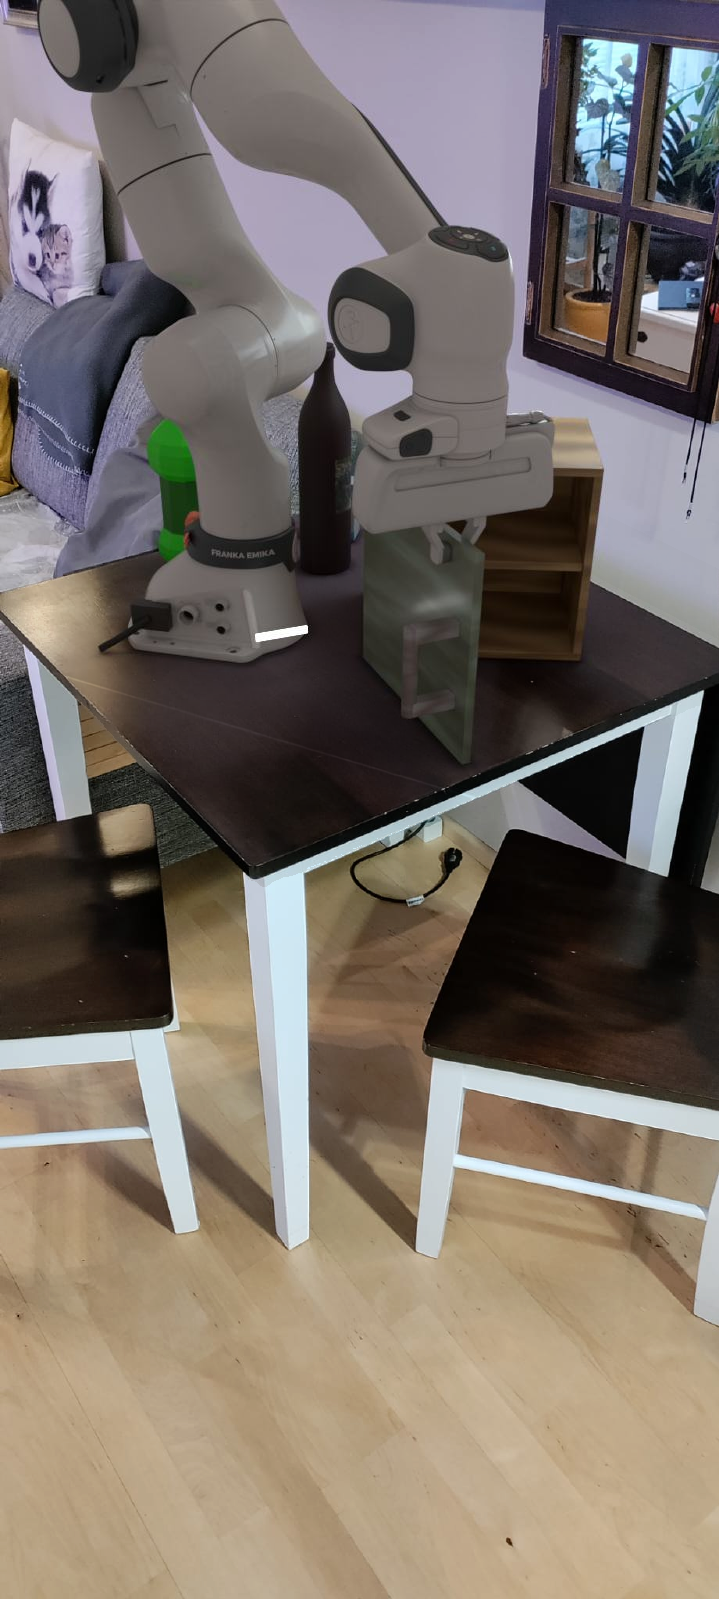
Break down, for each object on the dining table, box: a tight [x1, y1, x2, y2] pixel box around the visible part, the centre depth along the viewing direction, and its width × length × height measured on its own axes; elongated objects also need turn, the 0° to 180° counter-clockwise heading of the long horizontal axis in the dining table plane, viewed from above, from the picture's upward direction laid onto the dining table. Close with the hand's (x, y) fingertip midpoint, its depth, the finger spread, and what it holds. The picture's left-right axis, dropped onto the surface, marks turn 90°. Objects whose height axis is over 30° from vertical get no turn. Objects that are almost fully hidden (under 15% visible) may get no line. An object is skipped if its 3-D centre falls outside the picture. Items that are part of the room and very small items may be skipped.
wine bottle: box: [297, 341, 352, 575], centre depth 162 cm, size 7×7×30 cm
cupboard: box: [446, 416, 605, 661], centre depth 149 cm, size 18×26×24 cm
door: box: [362, 523, 485, 766], centre depth 131 cm, size 7×26×24 cm, turn 24°
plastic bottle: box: [146, 417, 199, 563], centre depth 162 cm, size 10×10×25 cm
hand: (451, 559), depth 121 cm, fingers closed on door
